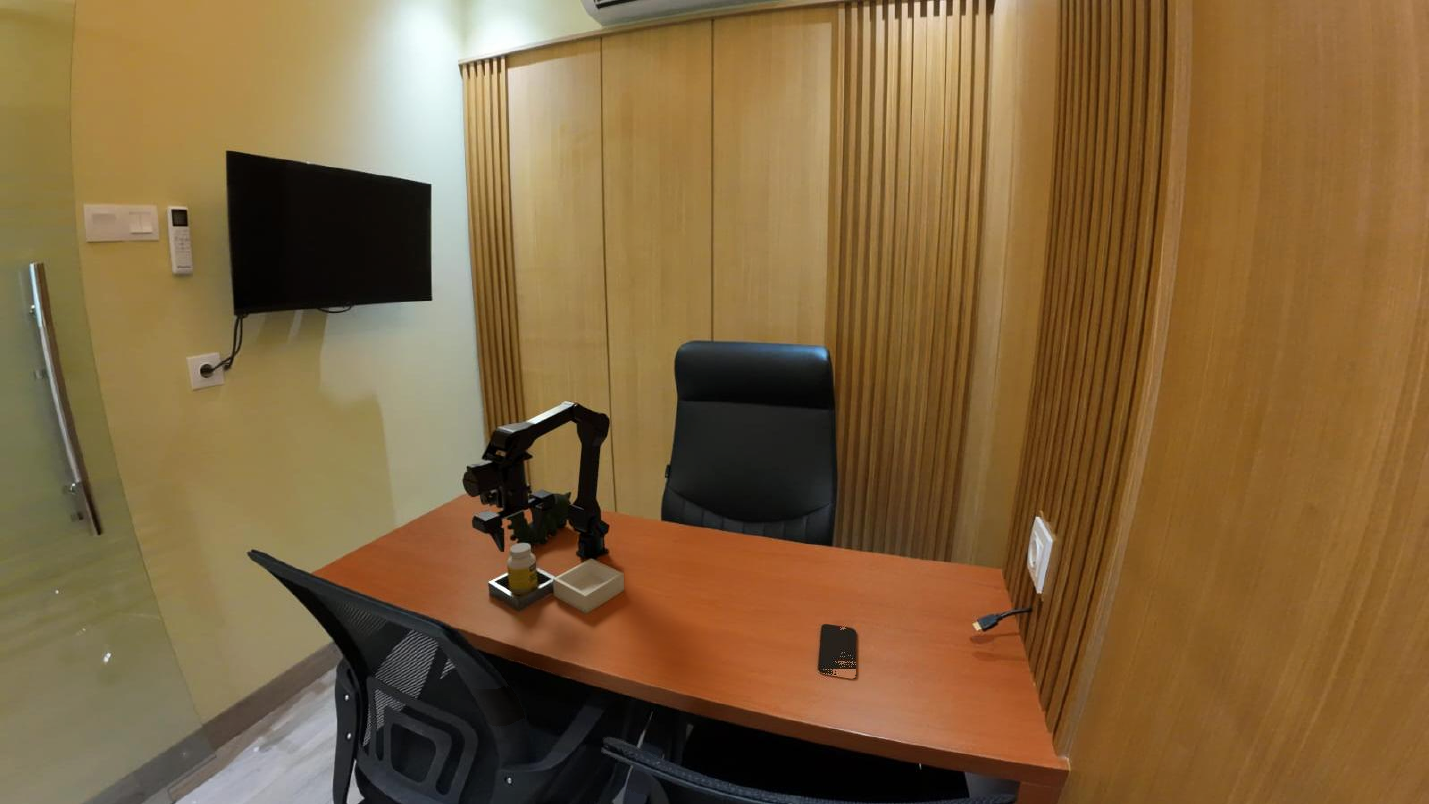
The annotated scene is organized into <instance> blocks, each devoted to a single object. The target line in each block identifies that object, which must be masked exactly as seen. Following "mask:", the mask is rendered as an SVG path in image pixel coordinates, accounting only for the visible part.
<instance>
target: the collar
mask: <svg viewBox="0 0 1429 804" xmlns="http://www.w3.org/2000/svg"><path fill="white" fill-rule="evenodd" d="M536 568H537V580H538V583H540V584H539V585H538V587H536V588H534V589H532V590H530V591H528V592H527V593H525V594H523V595H521V596H517V595H516V594H514V593H512V592H511V591H510V589H507V588H508V587H509V579H508V572H505V573H504V574H502V575H500V576H498V577H495V578H494V579H492V580H489V581H488V582H487V585H488V593H489V595H491V596H492V597H495V598H496V599H498V600H499V601H501V602H502V603H504V604H505V605H507V606H509V607H510V608H511V609H514V610H515V611H516V612H521V611H523V610H525V609H527V608H529V607H531V606H532V605H534V604H535V603H538V602H539V601H542V600H543V599H545V598H546V597H548V596H551V594H554V588H553V578H555V577H556V576H555V575H553V574H551V573H549V572H547V571H545V570H543V569H541V568H539V567H538V566H536Z"/></svg>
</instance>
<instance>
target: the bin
mask: <svg viewBox="0 0 1429 804" xmlns="http://www.w3.org/2000/svg"><path fill="white" fill-rule="evenodd" d="M554 577H555V578H553V588H554V593H553V596H554V597H555V598H558V599H559V600H561V601H562V602H565V603H567V605H570V606H572V607H573V608H575V609H577V610H579V611H580V612H582V613H584V614H586V615H588V614H589V613H590V612H592V611H594V610H596V609H597V608H598V607H600V606H601V605H602V604H605V603H607V601H609V600H611V599H612V598H614V597H616V596H617V595H619V594H621V593H622V592H624V591H625V581H624V579H625V578H624V577H625V576H624V573H623V572H621V571H619V570H617V569H615V568H612V567H611V566H609V565H606V564H604V563H602V562H600V561H598V560H597V559H596V560H595V559H589V560H588V559H586V560H585V561H584V562H582V563H580V564H578V565H576V566H575V567H572V568H571V569H568V570H567V571H565V572H563V573H561V574H560V575H557V576H554Z"/></svg>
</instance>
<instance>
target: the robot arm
mask: <svg viewBox="0 0 1429 804" xmlns="http://www.w3.org/2000/svg"><path fill="white" fill-rule="evenodd" d="M569 422H572V423H573V424H576V434H577V437H578V439H579V441H580V444H581V445H580V446H581V448H580V459H579V461H580V462H579V471H578V483H577V493H576V494H577V495H576V498H575V500H574V501H573V503H571V504H569V505H568V515H567V518H566V519H568V520H567V524H568V525H569V526H570V527H571V528H572V529H573V531H574V532H577V533H578V540H577V549H578V550H577V551H575V555H578V556H580V557H582V558H584V559H586V560H589V559H594V560H595V559H596V560H597V558H599V557H601V556H603V555H605V554H606V553H608V552H609V551H610V549H608V548H607V547H605V536H606V535H607V534H609V531H610V524H608V523H607V522H605V521H604V520H603V519H602V509H601V506H600V505H599V502H598V499H597V492H598V483H599V481H598V480H599V471H600V460H601V448H602V447H601V446H602V445H603V443H604V442H605V440H606V439H607V437H608V434H609V430H610V426H611V425H610V424H611V420H610V417H608V415H607V414H606V413H603V412H598V411H594V410H592V409H590V408H587V407H585V406H584V405H582V404H580V403H579V402H574V401H571V400H570V401H569V400H566V401H563V402H561V403H560V405H557V406H555V407H553V408H551V409H548V410H546V411H545V412H542V413H541V414H538V415H536V416H535V417H532V418H530V419H528V420H526V421H521V422H517V423H509V424H505V425H502V426H498V427H497V428H495V429H494V430H493V431H492V434H491V436H490V440H489V442H488V443H487V446H486V448H485V449H484V452H483V454H482V456H481V460H483V461H481V462H477V463H472V464H468V465H467V466H466V471H465V472H464V474H463V477H462V481H461V482H462V486H463V489H464V490H465V492H466V493H467V495H468V496H470V498H476V497H479V500H480V503H481V505H483V506H487V505H489V507H493V506H496V508H497V509H501V510H500V511H498V512H493V511H491V510H490V509H487V510H485V511H481V512H480V513H477V514H475V515H473V516H472V519H471V526H472V528H473V529H475V530H476V531H479V532H481V533H483V534H485V535H486V534H487V535H490V537H491V538H492V540H493V542H494V543H495V545H496V548H498V550H499V552H500V553H504V552H505V548H506V547H505V546H506V545H505V544H506V543H505V528H504V527H503V521H504V520H507V519H506V518H508V517H510V516H513V515H515V514H518V513H520V512H522V511H524V512H525V511H526V510H530V513H531V518H532V519H531V522H533V531H534V535H535V536H538V535H539V533H540V530H541V528H542V526H543V523H544V521H545V519H546V517H547V515H548V513H549V511H550V510H552V506H555V505H556V504H557V502H556V496H555V495H554V493H553V492H550V491H547V490H545V489H539V490H536V491H534V492H532V493H531V494H529V493H528V492H527V490H531V485H530V484H528V483H527V475H526V472H527V471H526V466H525V462H526V461H528V460H531V459H533V457H534V456H533V455H532V454H531V453H528V451H527V450H529V449H530V448H532V446H533V445H534V442H535V441H536V440H537V439H539V438H540V437H542V436H544V435H547V434H548V433H550V432H553V431H554V430H556V429H558V428H561V427H562V426H564V425H566V424H567V423H569ZM497 452H499V453H501V454H505V455H501V454H497Z"/></svg>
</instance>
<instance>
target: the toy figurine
mask: <svg viewBox="0 0 1429 804" xmlns="http://www.w3.org/2000/svg"><path fill="white" fill-rule="evenodd" d="M532 491H533V490H531V489H530V490H527V492H528V495H529V494H531V493H533V492H532ZM553 494H554V495H555V496H556V502H557V504H556V505H555V506H552V510H550V511H549V513H548V515H547V517H546V519H545V521H544V523H543V526H542V528H541V530H540V533H539V535H538V536H535V535H534V531H533V522H532V521H531V522H530V523H528V520H527V518H526V514H525V511H522V512H520V513H518V514H515V515H513V516H510V517H508V518H506V519H505V520H507V521H510V524H508V525H507V530H510V531H511V530H513V531H512V532H513V533H512V534H510V535H509V540H510V541H512V542H513V541H514V542H515V541H516V540H517V541H516V544H519V543H528V544H530V546H531V549H534V548H535V547H536V544H538V543H539V544H540V545H542V546H545V545H546V544H547V543H548V539H547V536H548V535H549V536H550V537H552V538H554V537H556V536H558V535H559V530H558V529H562V528H565V527H567V524H568V519H566V518H567V515H568V505H569V504H572V502H571V500H570V499H571V496H572V492H571V491H568V492H566V493H564V494H563V493H558V492H556V493H553Z"/></svg>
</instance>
